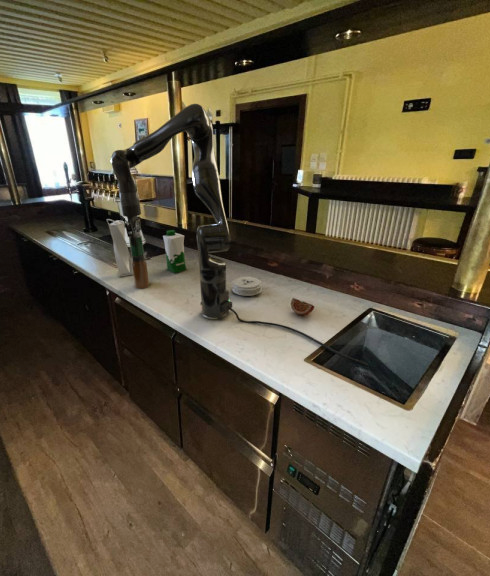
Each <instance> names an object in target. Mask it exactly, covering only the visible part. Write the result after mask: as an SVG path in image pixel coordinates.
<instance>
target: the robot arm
mask: <svg viewBox="0 0 490 576" xmlns="http://www.w3.org/2000/svg"><path fill="white" fill-rule="evenodd" d="M213 131H214V130H213V123H212V119H211V117H210V116H209V115H208V113H207V111H206V110H205V108H204V107H203V106H202V105H201V104H199V103H191V104H189V105H187V106H185V107H184V108H183V109H181V110H180V111H179V112H178V113H176V114H175V115H173V116H172V117H171V118H170V119H168V121H166V122H165V123H163V124H162V125H161V126H160V127H158V128H157V129H156V130H154V131H153V132H151V133H149V134H148V135H146V136H143V137H142V138H140V139H138V140H136V141H135V142H133V144H132V145H131V146H129V147H128V148H125V149H116V150H114V151H113V152H112V153H111V156H110V157H111V158H110V163H111V167H112V170H113V172H114V175H115V178H116V180H117V185H118V192H119V202H120V207H121V214H122V216H123V217H126V218H127V220H126V222H124V226H125V232H126V235H127V237H128V238H129V237H130V239H131V245H132V246H136V245H137V241H136V232H140V233H141V231H142V223H141V216H140V215H142V210H141V204H140V203H141V201H140V195H139V192H138V186H137V185H138V184H137V180H136V178H135V176H133V175H132V172H131V169H134V168H135V167H137V166H138V165H139V164H141V163H142V162H144V161H147V160H149V159H151V158H152V157H154V156H156V155H158V154H160V153H161V152H162V151H164V149H165V148H166V146H167V145H168V144H169V142H170V141H171V140H172V139H173V138H174V137H175V136H177V135H179V134H181V133H184V132H186V134H187V135H188V136H189V138H190V139H191V143H192V147H193V153H194V158H193V163H192V167H191V178H192V179H191V180H192V186H193V191H194V193H195V195H196V196H197V197H198V199H199V200H200V201H201V202H202V204H204V205H205V207H206V208H207V209H208V210H209V212H210V213H211V215H212V216H213V219H214V222H215V223H213V224H203V225H198V226H197V228H196V243H197V245H196V246H197V251H198V252H197V253H198V264H199V265H198V268H199V283H200V285H199V286H200V300H201V301H200V306H201V316H202V317H203V318H205V319H207V320H213V321H214V320H218V321H221V320H223V319H224V318H225V317H227V315H229V314H230V312H232V313H233V314H234V315H235V317H236V319H237V321H239V322H240V323H245V324H261V325H267V326H268V325H269V326H275V327H279V328H283V329H286V330H289V331H292V332H295V333H297V334H299V335H302V336H303V337H306V338H307V339H309V340H311V341H313V342H314V343H316V344H318V345H320V346H322V347H323V348H325V349H327V350H328V351H330V352H332V353H334V354H335V355H338V356H340V357H342V358H343V359H344V358H345V359H347V360H349V361H352V362H354V363H357V364H360V365H362V366H365V367H369V363H368V362H364V361H361V360H359V359H356V358H353V357H351V356H348V355H346V354H343V353H341V352H339V351H337V350H335V349H333V348H332V347H330V346H329V345H327V344H324V343H323V342H321V341H319V340H317V339H316V338H314V337H312V336H311V335H308V334H306V333H305V332H302V331H300V330H297V329H296V328H293V327H289V326H288V325H287V326H286V325H283V324H279V323H275V322H268V321H261V320H243V319H241V318H240V317H239V314H238V313H237V312H236V311H235V310H234V309H233V301H231V300H230V291H229V290H228V289H227V264H226V261H224V260H222V259H220V258H216V257H213V256H210V255H209V254H212V253H221V252H227V251H229V249H230V248H231V234H230V228H229V224H228V220H227V215H226V211H225V207H224V202H223V201H224V200H223V195H222V187H221V180H220V179H221V178H220V172H219V169H218V163H217V158H216V154H215V153H216V152H215V149H214V132H213ZM131 232H132V234H131Z"/></svg>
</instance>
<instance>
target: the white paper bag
mask: <svg viewBox="0 0 490 576" xmlns="http://www.w3.org/2000/svg"><path fill="white" fill-rule="evenodd" d="M109 221H111V223H109ZM106 222H107V224H108V229H109V232H110V235H111V239H112V243H113V244H112V245H113V246H112V247H113V255H114V260H115V263H116V267H117V270H118V274H119V278H125V277H130V276H131V277H132V276H134V275H133V269H132V257H131V253H130V250H129V247H128V244H127V241H126V227H125V221H123V220H121V219H120V220H118V219H117V220H113V219H110V218H107V219H106Z"/></svg>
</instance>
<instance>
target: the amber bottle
mask: <svg viewBox="0 0 490 576" xmlns="http://www.w3.org/2000/svg"><path fill="white" fill-rule="evenodd" d="M131 259H132V269H133V275H132V276H133V282H134V287H135V288H136V289H147V288H148V287H149V286H150V279H149V271H148V264H147V260H146V259H145V254H143V255H141V256H132V255H131Z"/></svg>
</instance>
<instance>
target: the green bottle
mask: <svg viewBox="0 0 490 576" xmlns="http://www.w3.org/2000/svg"><path fill="white" fill-rule="evenodd" d="M131 234H132V232H131ZM128 240H129V247H130V255H131V257H132V256H141V255H145V251H144V250H145V249H144V243H143V242H144V241H143V236H142V235H141V231H140V232H136V241H137V245H136V246H132V245H131V239H130V237H128Z"/></svg>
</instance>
